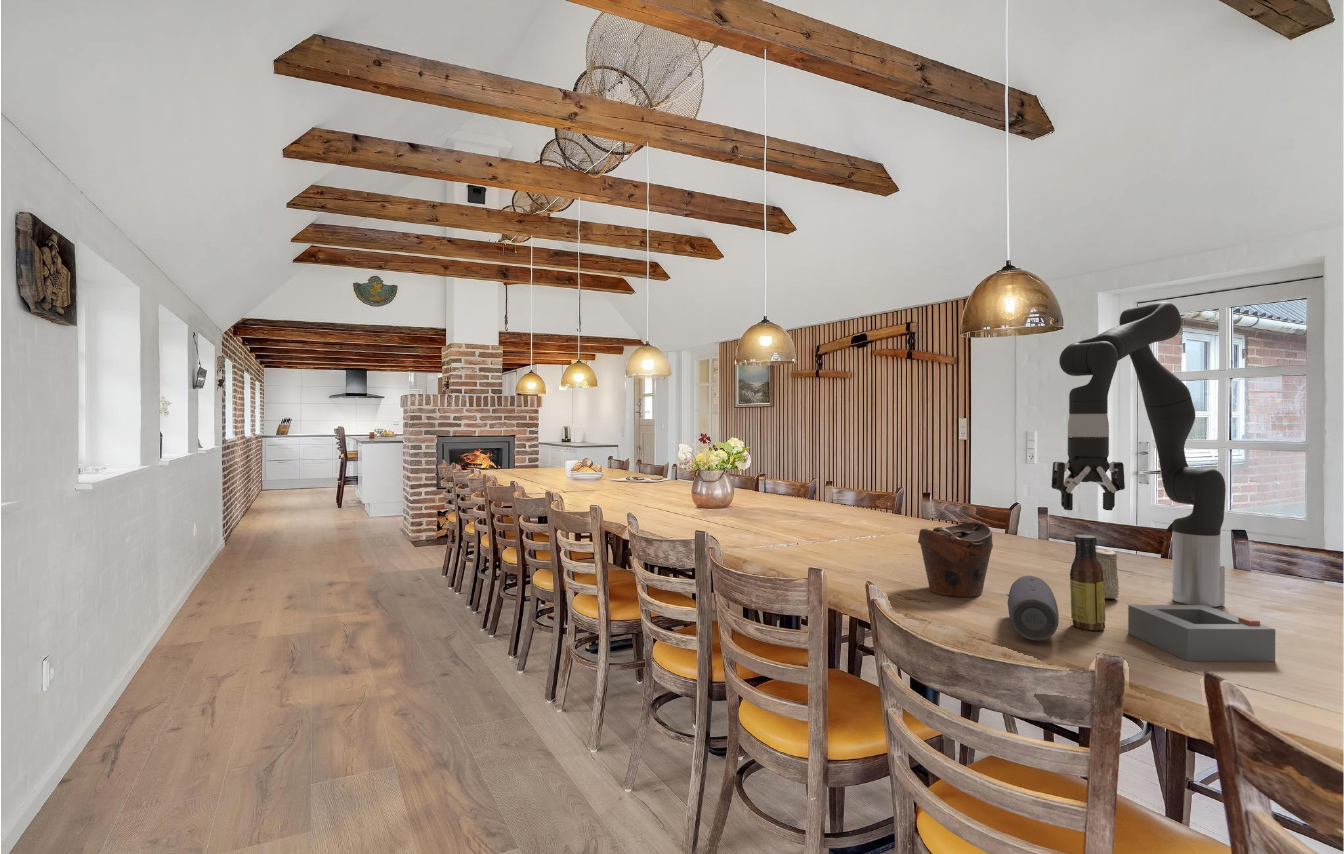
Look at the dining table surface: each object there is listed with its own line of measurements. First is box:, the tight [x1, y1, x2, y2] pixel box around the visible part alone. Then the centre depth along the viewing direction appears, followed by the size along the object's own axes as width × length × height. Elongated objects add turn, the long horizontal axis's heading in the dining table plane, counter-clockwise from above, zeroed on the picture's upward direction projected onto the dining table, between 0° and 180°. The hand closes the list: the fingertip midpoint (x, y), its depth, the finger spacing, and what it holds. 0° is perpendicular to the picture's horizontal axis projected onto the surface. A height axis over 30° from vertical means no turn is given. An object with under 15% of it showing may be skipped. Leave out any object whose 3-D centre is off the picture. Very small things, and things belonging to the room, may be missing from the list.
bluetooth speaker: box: [1007, 575, 1060, 642], centre depth 138 cm, size 23×9×10 cm, turn 152°
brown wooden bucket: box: [917, 521, 994, 598], centre depth 170 cm, size 18×20×18 cm
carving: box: [1096, 548, 1120, 600], centre depth 164 cm, size 6×8×12 cm
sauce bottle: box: [1069, 534, 1106, 632], centre depth 140 cm, size 7×6×20 cm
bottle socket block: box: [1127, 604, 1276, 663], centre depth 128 cm, size 16×16×7 cm
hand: (1087, 509), depth 140 cm, fingers open, 8 cm apart
